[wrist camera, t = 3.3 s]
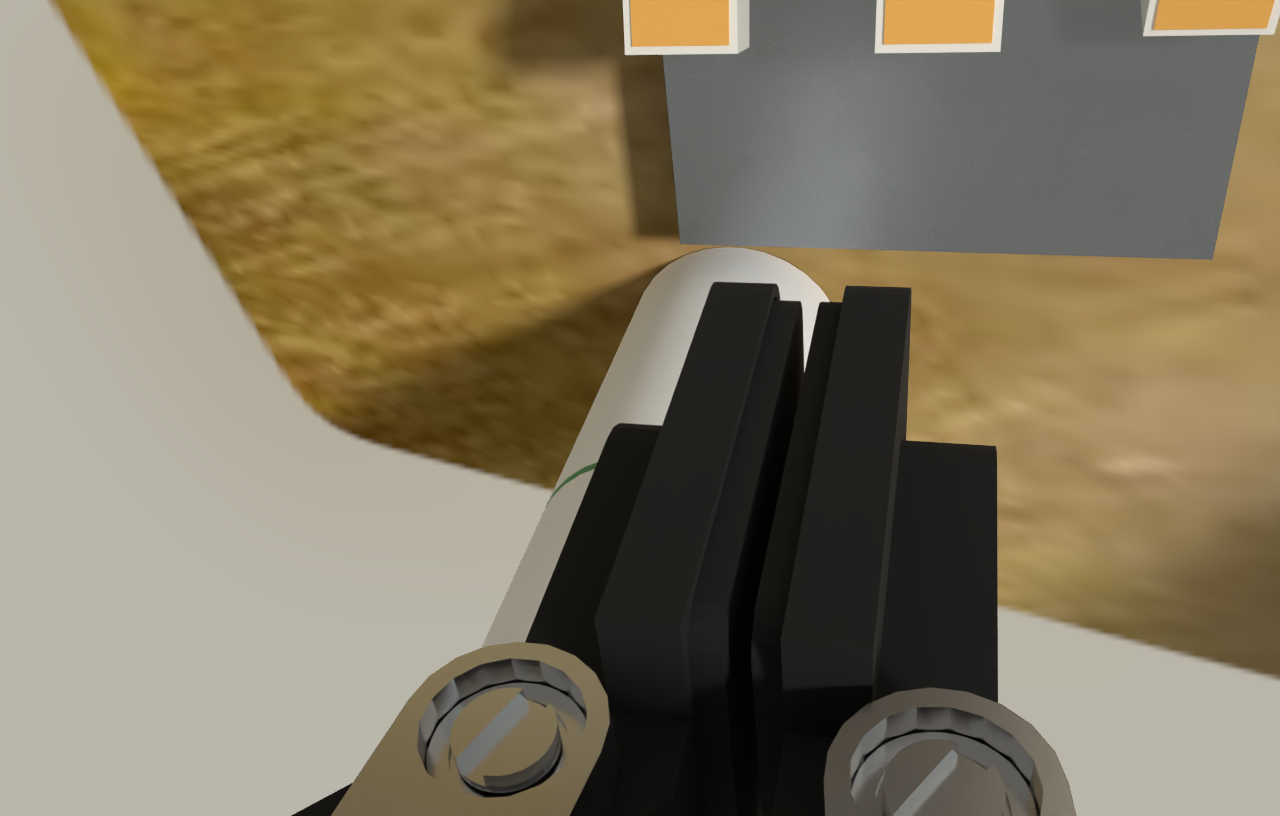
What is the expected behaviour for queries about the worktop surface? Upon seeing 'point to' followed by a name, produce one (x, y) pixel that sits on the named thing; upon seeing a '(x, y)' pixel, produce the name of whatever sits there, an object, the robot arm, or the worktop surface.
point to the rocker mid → (938, 26)
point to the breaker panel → (959, 135)
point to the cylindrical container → (640, 398)
